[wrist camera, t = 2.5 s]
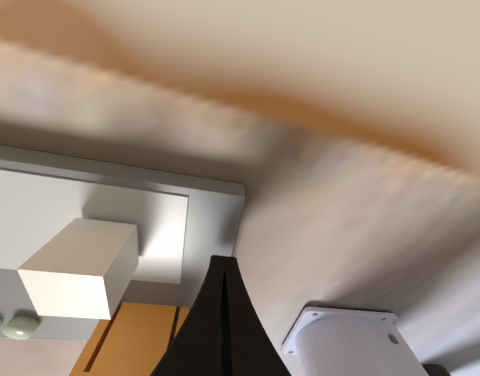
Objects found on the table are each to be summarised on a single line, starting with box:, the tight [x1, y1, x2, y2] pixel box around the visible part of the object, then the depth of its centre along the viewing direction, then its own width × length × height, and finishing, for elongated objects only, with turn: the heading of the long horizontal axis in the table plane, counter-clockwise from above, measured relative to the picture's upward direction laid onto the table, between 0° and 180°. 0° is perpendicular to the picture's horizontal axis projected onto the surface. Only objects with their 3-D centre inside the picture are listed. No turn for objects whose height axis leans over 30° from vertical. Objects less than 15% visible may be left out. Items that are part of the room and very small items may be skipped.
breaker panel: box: [0, 145, 246, 341], centre depth 13 cm, size 20×16×2 cm
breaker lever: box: [17, 218, 139, 320], centre depth 10 cm, size 3×3×3 cm
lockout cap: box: [69, 302, 189, 376], centre depth 14 cm, size 6×6×4 cm
